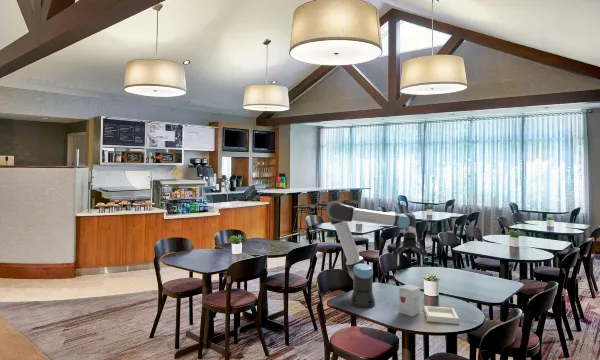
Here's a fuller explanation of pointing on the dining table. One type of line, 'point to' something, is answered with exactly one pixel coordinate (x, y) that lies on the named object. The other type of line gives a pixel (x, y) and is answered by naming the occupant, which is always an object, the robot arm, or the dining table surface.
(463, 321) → the dining table surface
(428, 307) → the stoneware dish
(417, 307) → the supplement box
